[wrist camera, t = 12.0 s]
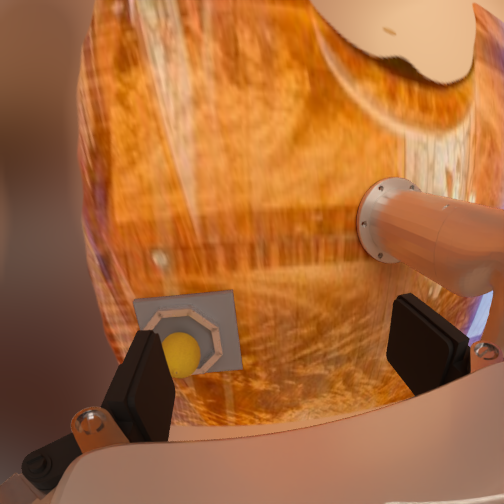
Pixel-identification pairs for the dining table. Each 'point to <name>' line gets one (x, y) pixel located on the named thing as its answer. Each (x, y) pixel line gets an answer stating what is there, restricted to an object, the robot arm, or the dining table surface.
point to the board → (198, 324)
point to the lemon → (181, 354)
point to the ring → (199, 317)
